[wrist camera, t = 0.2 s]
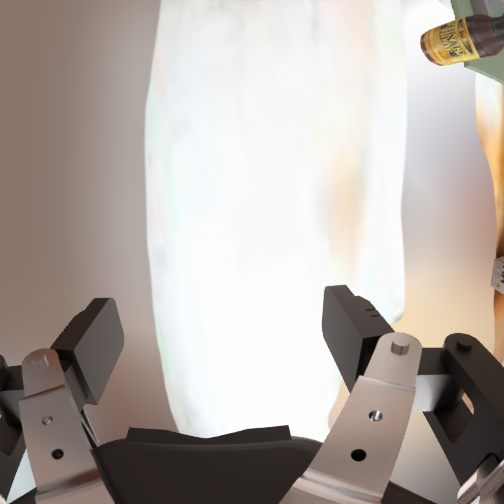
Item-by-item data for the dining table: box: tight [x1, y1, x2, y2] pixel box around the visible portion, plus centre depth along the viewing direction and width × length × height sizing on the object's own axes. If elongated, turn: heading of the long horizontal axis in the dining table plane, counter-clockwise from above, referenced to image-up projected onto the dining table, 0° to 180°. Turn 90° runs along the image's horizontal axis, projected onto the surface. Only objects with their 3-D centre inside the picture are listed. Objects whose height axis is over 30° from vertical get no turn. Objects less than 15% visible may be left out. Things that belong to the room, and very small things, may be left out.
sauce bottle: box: [420, 14, 504, 66], centre depth 23 cm, size 7×6×20 cm
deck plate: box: [451, 0, 504, 84], centre depth 27 cm, size 26×20×6 cm
